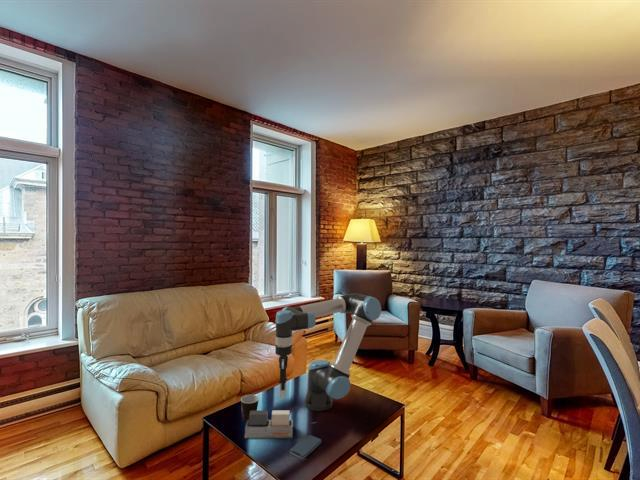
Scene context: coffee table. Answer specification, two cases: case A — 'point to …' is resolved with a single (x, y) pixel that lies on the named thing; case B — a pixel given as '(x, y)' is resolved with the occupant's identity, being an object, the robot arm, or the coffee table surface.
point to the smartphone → (305, 446)
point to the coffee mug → (248, 405)
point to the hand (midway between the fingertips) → (282, 395)
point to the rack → (265, 427)
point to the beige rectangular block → (280, 417)
